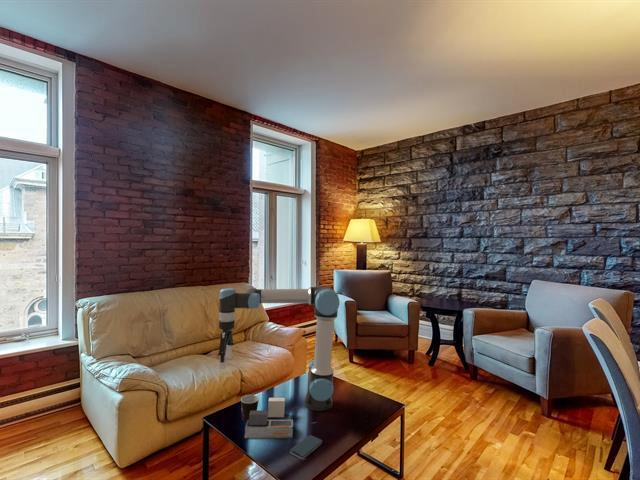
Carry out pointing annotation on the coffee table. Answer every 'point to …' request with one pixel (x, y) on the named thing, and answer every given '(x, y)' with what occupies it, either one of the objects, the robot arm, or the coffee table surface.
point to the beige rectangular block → (276, 407)
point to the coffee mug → (248, 405)
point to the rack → (267, 426)
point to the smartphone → (306, 447)
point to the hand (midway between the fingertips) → (225, 363)
